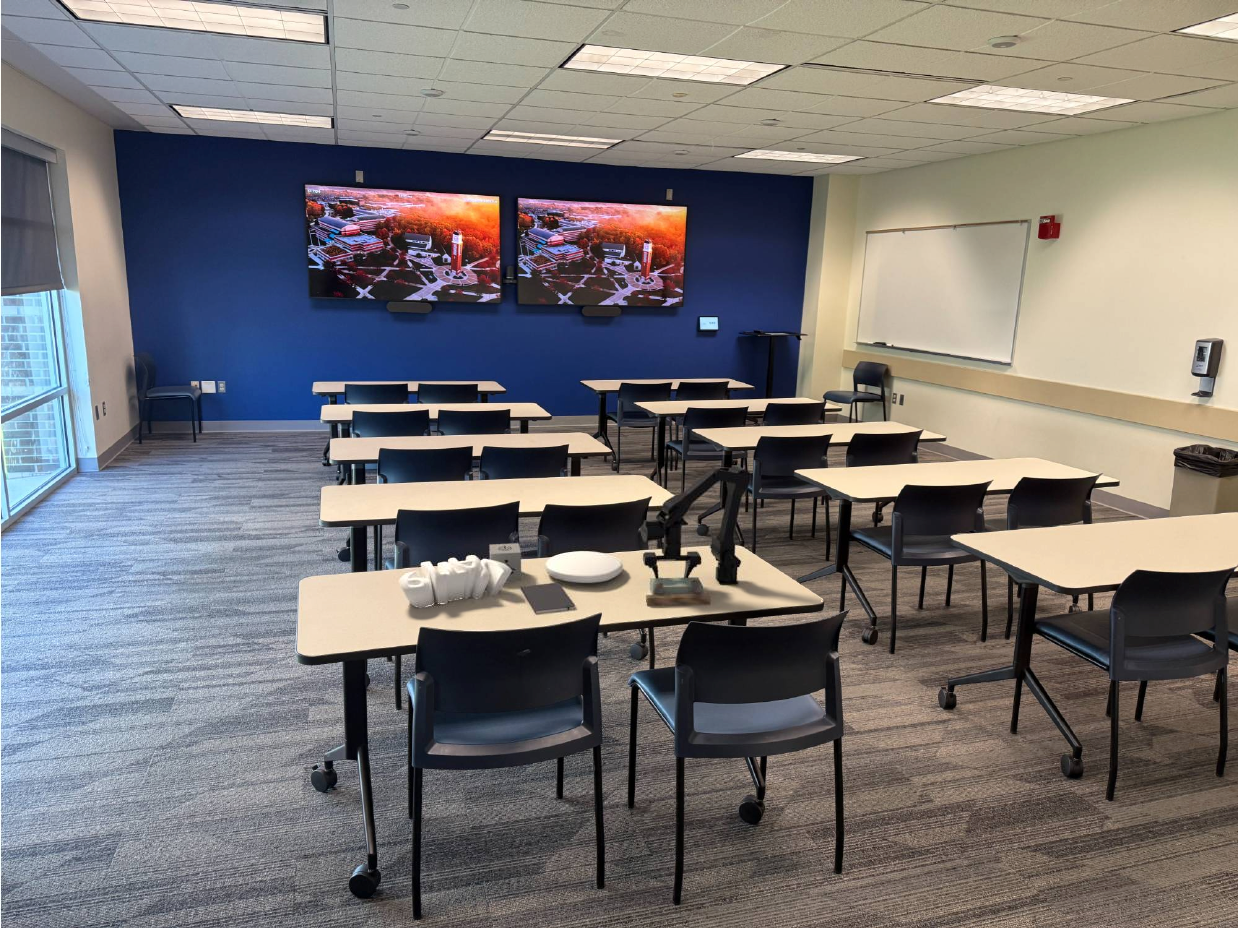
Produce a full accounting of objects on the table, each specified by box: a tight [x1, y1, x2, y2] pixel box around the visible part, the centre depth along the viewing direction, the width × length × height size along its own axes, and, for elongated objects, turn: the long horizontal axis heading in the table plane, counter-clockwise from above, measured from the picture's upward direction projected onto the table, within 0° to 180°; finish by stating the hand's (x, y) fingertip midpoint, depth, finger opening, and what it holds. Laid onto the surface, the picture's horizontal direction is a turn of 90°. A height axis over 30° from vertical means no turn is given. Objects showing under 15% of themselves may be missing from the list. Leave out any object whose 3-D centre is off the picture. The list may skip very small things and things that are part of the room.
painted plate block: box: [649, 576, 704, 595], centre depth 263 cm, size 16×8×4 cm, turn 96°
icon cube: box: [489, 542, 522, 583], centre depth 276 cm, size 10×10×10 cm
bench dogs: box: [645, 579, 711, 607], centre depth 256 cm, size 20×6×6 cm, turn 96°
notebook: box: [520, 582, 576, 615], centre depth 257 cm, size 13×2×21 cm
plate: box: [544, 550, 624, 584], centre depth 279 cm, size 28×6×27 cm
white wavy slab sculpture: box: [398, 554, 512, 607], centre depth 257 cm, size 35×16×10 cm, turn 116°
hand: (671, 582), depth 268 cm, fingers open, 9 cm apart
